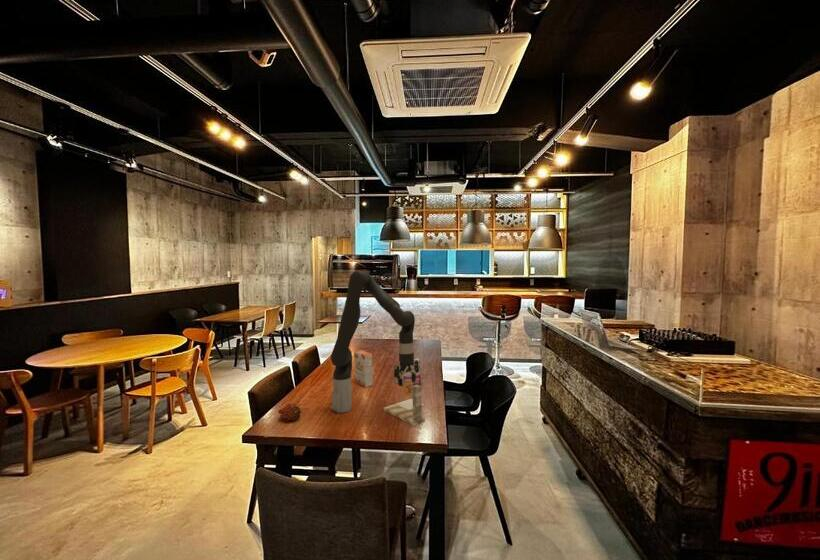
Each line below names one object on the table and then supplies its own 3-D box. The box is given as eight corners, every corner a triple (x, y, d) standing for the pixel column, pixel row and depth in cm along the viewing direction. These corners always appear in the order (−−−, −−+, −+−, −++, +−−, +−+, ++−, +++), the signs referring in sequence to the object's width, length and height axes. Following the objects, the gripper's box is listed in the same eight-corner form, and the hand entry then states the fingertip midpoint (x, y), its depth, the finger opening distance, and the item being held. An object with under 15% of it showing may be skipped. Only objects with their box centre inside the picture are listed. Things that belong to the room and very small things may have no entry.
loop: (404, 397, 169) (404, 384, 169) (401, 395, 171) (401, 383, 171) (412, 394, 173) (412, 381, 172) (409, 393, 174) (409, 380, 174)
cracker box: (354, 382, 226) (353, 350, 226) (362, 380, 230) (361, 349, 229) (364, 388, 215) (364, 355, 214) (373, 386, 219) (372, 353, 218)
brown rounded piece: (301, 424, 169) (280, 425, 172) (307, 409, 176) (286, 410, 179) (293, 415, 165) (271, 416, 167) (299, 399, 171) (278, 401, 174)
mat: (408, 411, 180) (408, 410, 180) (395, 404, 188) (395, 403, 188) (423, 405, 187) (423, 404, 187) (410, 399, 195) (410, 398, 195)
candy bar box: (419, 382, 224) (418, 357, 223) (420, 385, 219) (420, 360, 218) (402, 384, 222) (401, 359, 221) (403, 386, 217) (403, 361, 216)
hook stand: (424, 421, 168) (424, 385, 167) (413, 426, 163) (413, 388, 162) (394, 406, 186) (393, 373, 185) (384, 410, 181) (383, 376, 181)
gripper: (412, 347, 178) (412, 378, 179) (390, 352, 169) (391, 385, 170) (422, 350, 173) (422, 382, 173) (400, 355, 164) (400, 389, 164)
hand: (407, 383), depth 172 cm, fingers open, 8 cm apart
